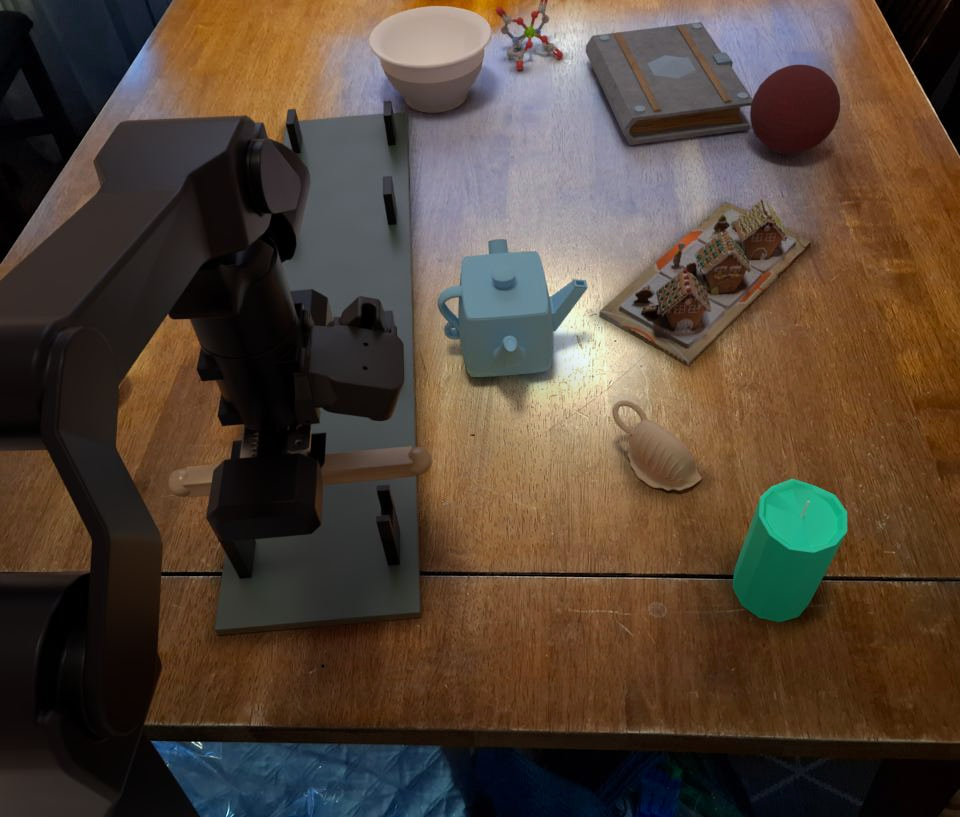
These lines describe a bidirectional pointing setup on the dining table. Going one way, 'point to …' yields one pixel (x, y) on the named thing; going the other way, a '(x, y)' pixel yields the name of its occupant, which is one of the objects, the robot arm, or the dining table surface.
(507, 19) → the molecular model
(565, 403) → the dining table surface
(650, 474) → the decorative ornament
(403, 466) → the beige rounded rod
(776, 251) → the gingerbread house
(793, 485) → the candle
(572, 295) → the teapot
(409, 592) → the rack
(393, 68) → the bowl
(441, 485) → the dining table surface
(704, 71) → the book
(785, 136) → the decorative ball
